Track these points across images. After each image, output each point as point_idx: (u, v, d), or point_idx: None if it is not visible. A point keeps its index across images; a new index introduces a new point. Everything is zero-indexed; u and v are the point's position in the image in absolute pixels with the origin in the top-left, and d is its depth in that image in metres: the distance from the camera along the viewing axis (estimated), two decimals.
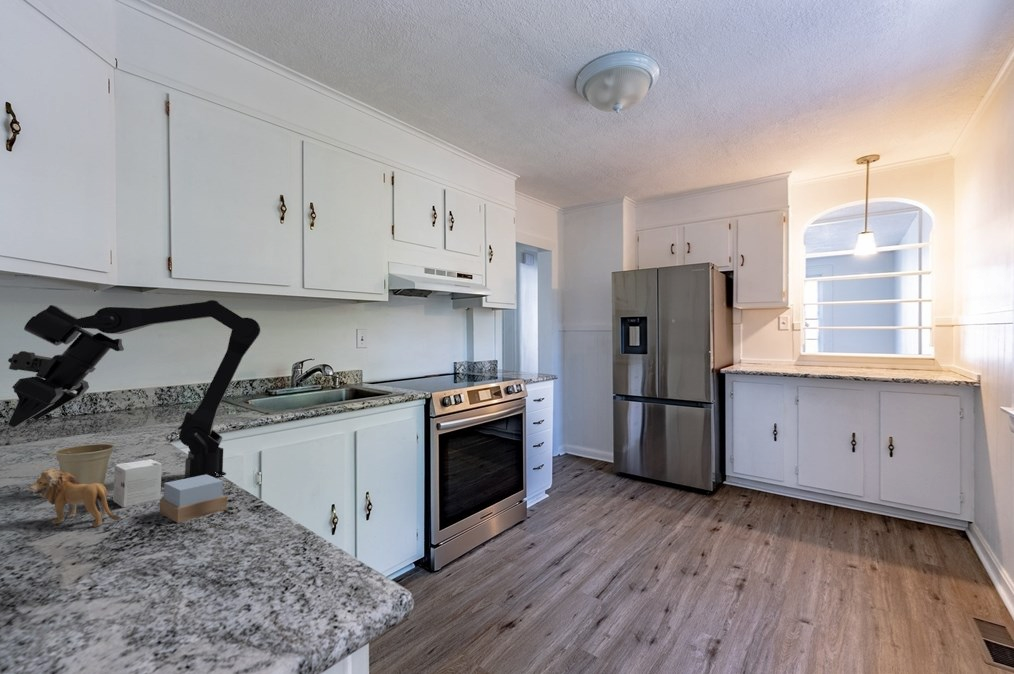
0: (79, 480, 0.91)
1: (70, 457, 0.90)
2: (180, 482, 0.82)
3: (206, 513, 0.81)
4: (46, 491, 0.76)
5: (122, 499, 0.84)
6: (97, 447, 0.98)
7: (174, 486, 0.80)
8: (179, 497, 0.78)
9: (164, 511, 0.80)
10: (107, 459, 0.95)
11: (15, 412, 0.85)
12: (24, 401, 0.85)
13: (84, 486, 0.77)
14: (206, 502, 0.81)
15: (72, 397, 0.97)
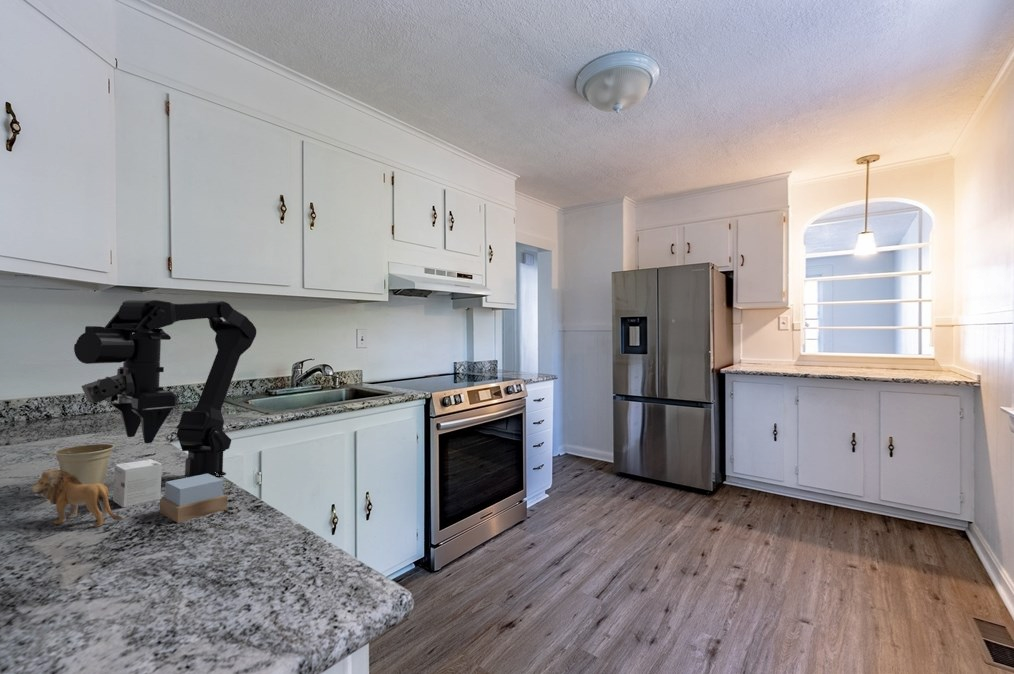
0: (79, 480, 0.91)
1: (70, 457, 0.90)
2: (181, 481, 0.83)
3: (206, 512, 0.81)
4: (48, 491, 0.76)
5: (122, 499, 0.84)
6: (97, 447, 0.98)
7: (175, 485, 0.80)
8: (179, 496, 0.78)
9: (164, 511, 0.80)
10: (107, 459, 0.95)
11: (145, 430, 0.84)
12: (147, 417, 0.84)
13: (85, 486, 0.77)
14: (206, 501, 0.81)
15: None
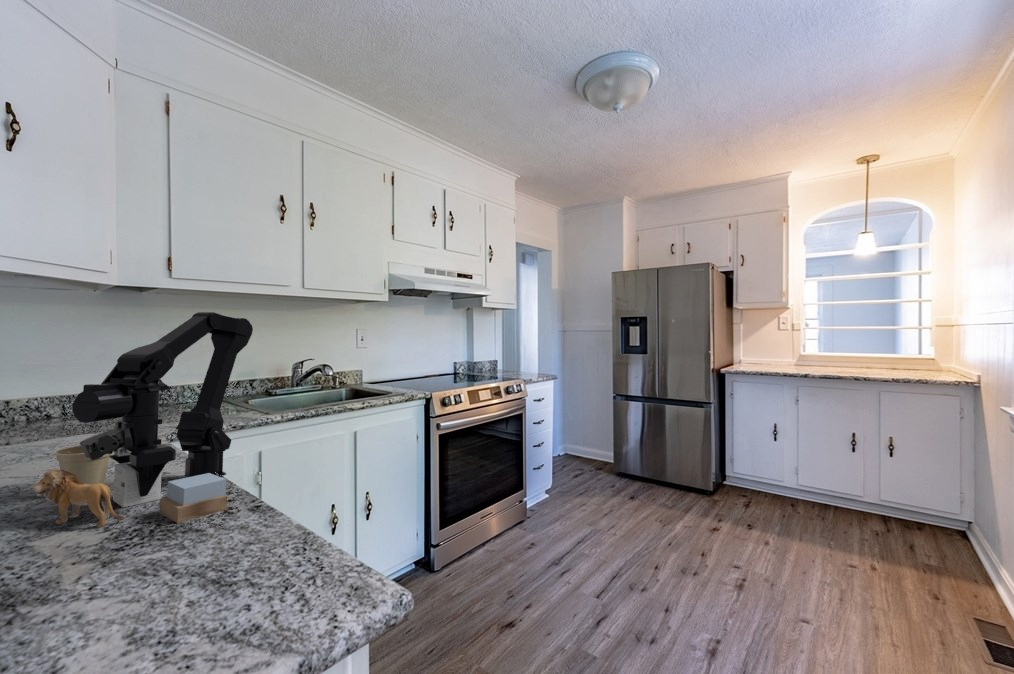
0: None
1: (70, 457, 0.90)
2: (183, 481, 0.83)
3: (206, 513, 0.81)
4: (50, 491, 0.76)
5: (122, 499, 0.84)
6: None
7: (178, 485, 0.81)
8: (183, 495, 0.79)
9: (164, 511, 0.80)
10: (107, 459, 0.95)
11: (140, 484, 0.85)
12: (142, 471, 0.85)
13: (88, 486, 0.77)
14: (206, 502, 0.81)
15: None
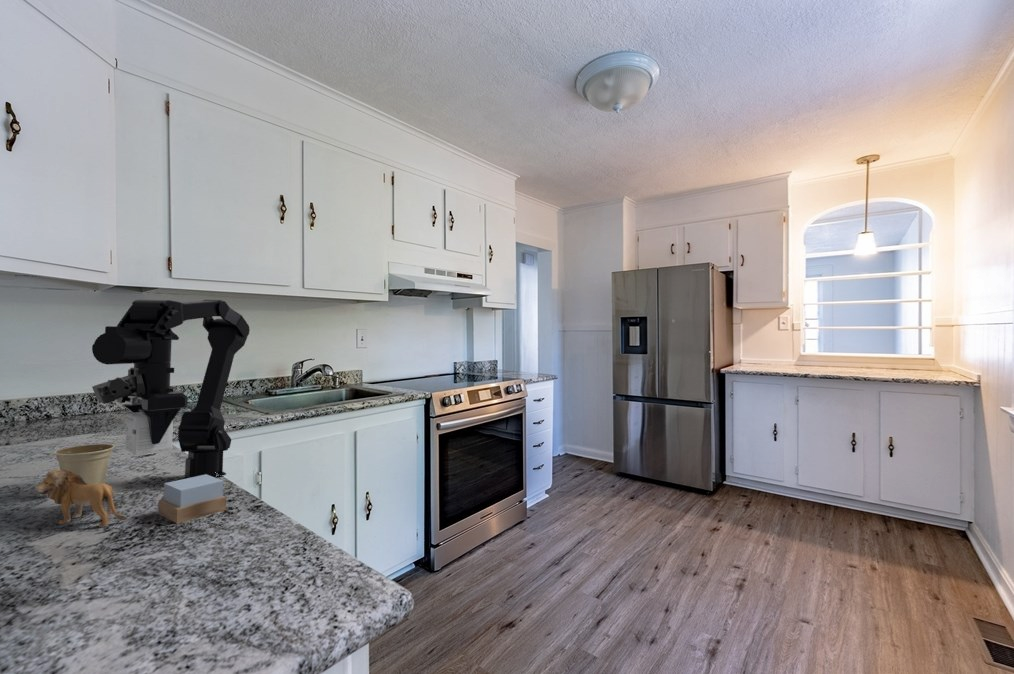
0: None
1: (70, 457, 0.90)
2: (180, 482, 0.82)
3: (205, 514, 0.81)
4: (52, 491, 0.76)
5: (134, 446, 0.83)
6: (97, 447, 0.98)
7: (174, 486, 0.80)
8: (180, 497, 0.78)
9: (163, 512, 0.80)
10: (107, 459, 0.95)
11: (152, 431, 0.84)
12: (154, 417, 0.84)
13: (90, 486, 0.77)
14: (205, 503, 0.81)
15: None
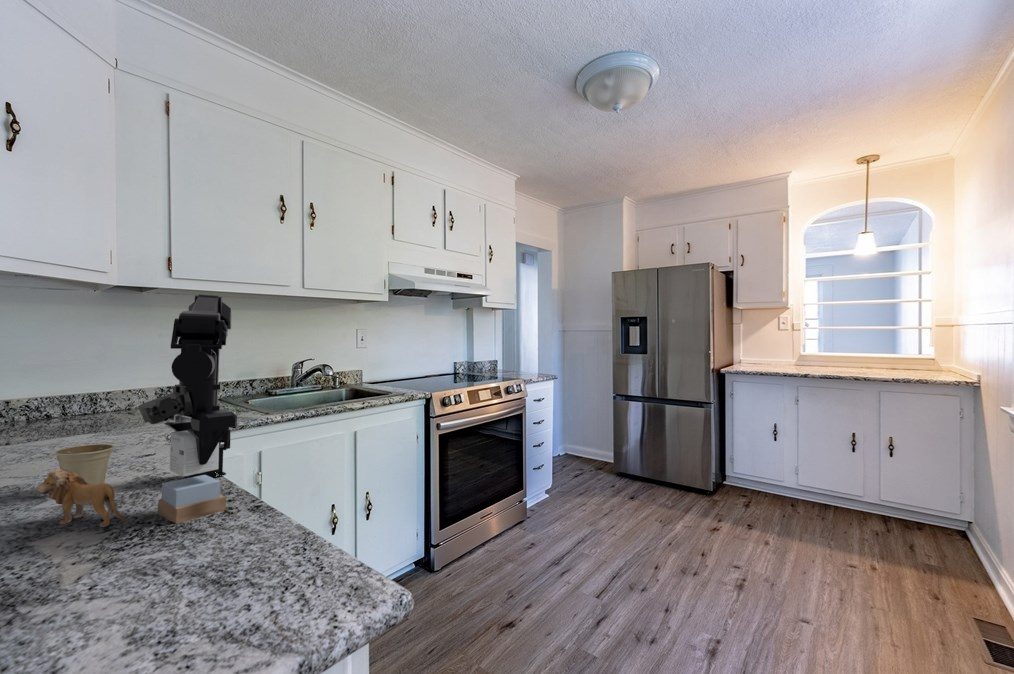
0: None
1: (70, 457, 0.90)
2: (178, 482, 0.82)
3: (205, 513, 0.81)
4: (54, 491, 0.76)
5: (181, 467, 0.79)
6: (97, 447, 0.98)
7: (171, 486, 0.80)
8: (175, 497, 0.78)
9: (162, 512, 0.80)
10: (107, 459, 0.95)
11: (200, 451, 0.80)
12: (203, 437, 0.80)
13: (92, 486, 0.77)
14: (205, 502, 0.81)
15: None
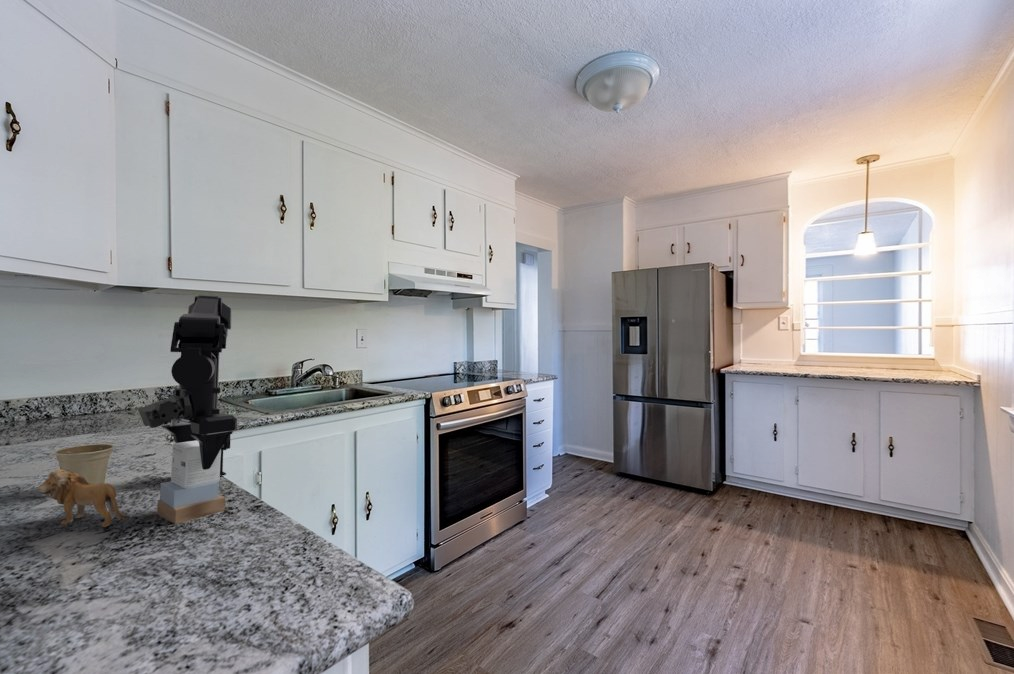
0: None
1: (70, 457, 0.90)
2: None
3: (204, 514, 0.80)
4: (55, 491, 0.76)
5: (183, 479, 0.79)
6: (97, 447, 0.98)
7: (169, 487, 0.79)
8: (173, 498, 0.77)
9: (162, 512, 0.80)
10: (107, 459, 0.95)
11: (204, 456, 0.79)
12: (206, 442, 0.79)
13: (93, 486, 0.77)
14: (204, 503, 0.80)
15: None
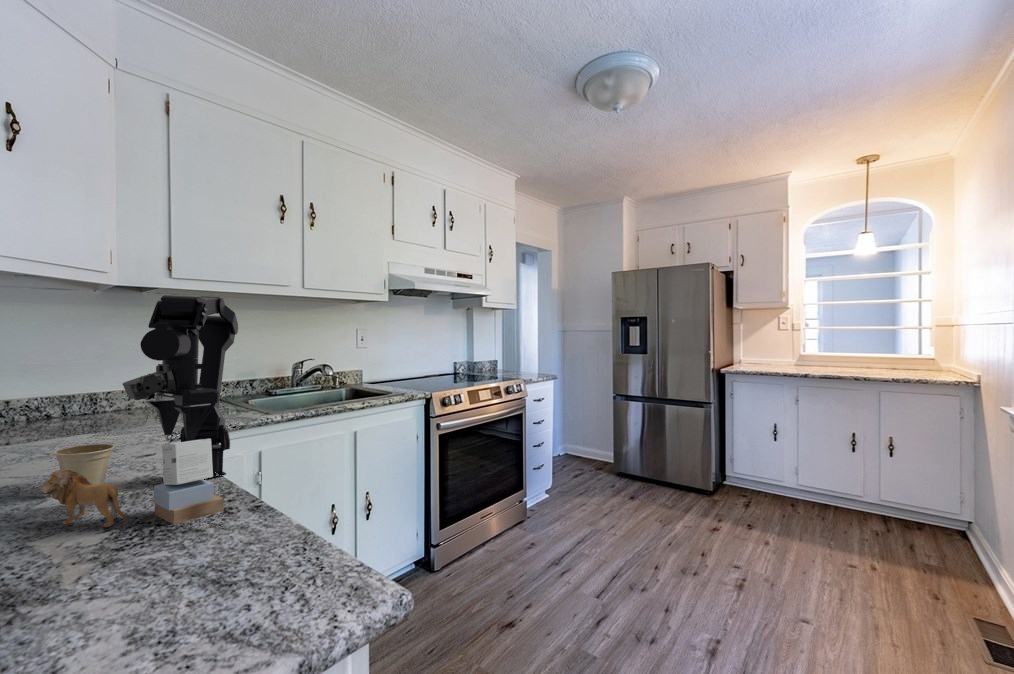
0: None
1: (70, 457, 0.90)
2: (170, 485, 0.81)
3: (202, 515, 0.80)
4: (57, 491, 0.76)
5: (175, 476, 0.78)
6: (97, 447, 0.98)
7: (164, 489, 0.79)
8: (168, 500, 0.77)
9: (159, 514, 0.80)
10: (107, 459, 0.95)
11: (187, 428, 0.83)
12: (189, 414, 0.83)
13: (95, 486, 0.77)
14: (202, 504, 0.80)
15: None
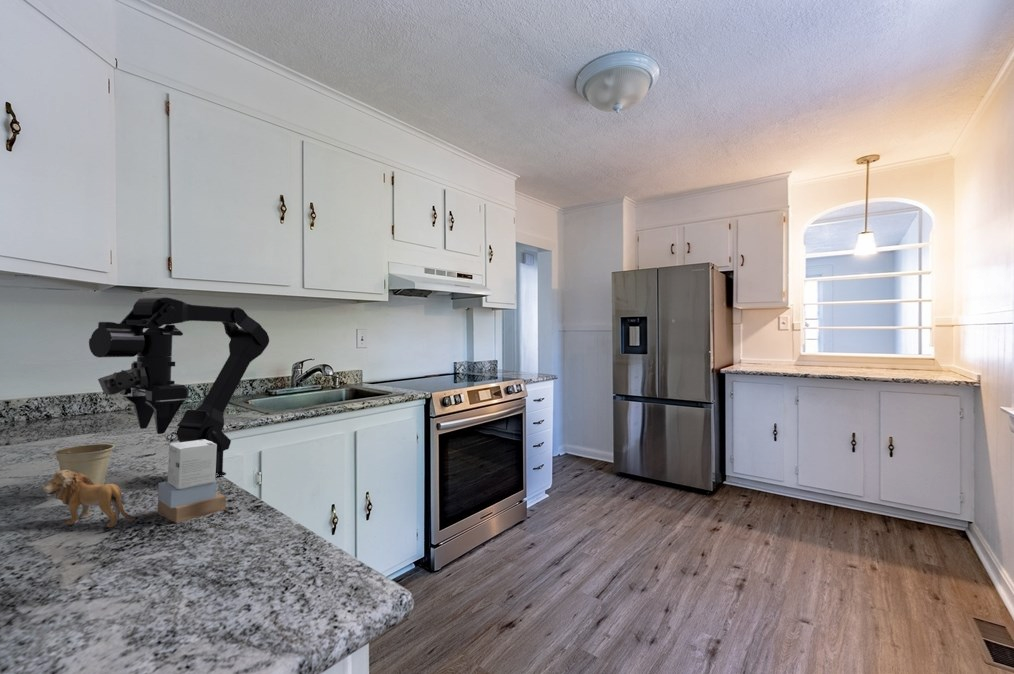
0: None
1: (70, 457, 0.90)
2: None
3: (205, 513, 0.81)
4: (60, 492, 0.76)
5: (177, 480, 0.78)
6: (97, 447, 0.98)
7: (167, 487, 0.80)
8: (170, 498, 0.77)
9: (162, 511, 0.80)
10: (107, 459, 0.95)
11: (158, 421, 0.88)
12: (160, 409, 0.88)
13: (98, 486, 0.77)
14: (205, 502, 0.81)
15: None
